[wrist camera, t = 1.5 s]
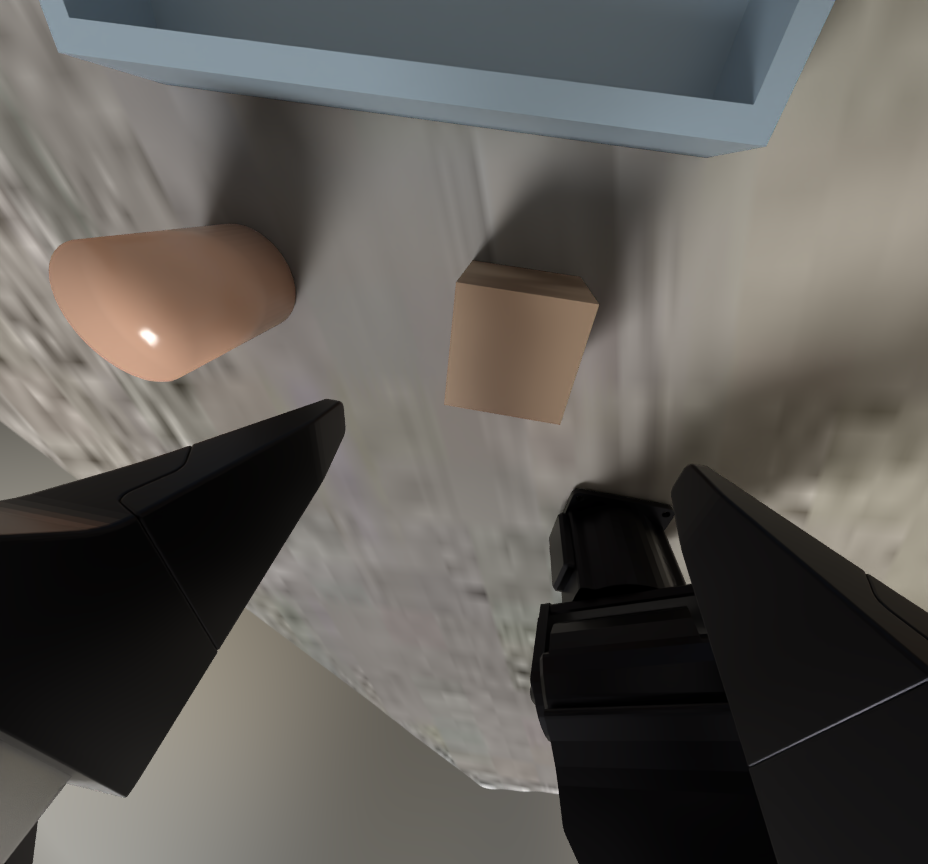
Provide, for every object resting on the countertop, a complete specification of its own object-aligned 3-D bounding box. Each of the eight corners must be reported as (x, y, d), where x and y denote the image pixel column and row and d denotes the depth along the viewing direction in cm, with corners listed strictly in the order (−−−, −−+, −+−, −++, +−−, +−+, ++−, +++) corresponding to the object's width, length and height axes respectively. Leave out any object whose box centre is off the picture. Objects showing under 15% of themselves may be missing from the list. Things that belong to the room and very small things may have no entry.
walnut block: (580, 276, 16) (599, 304, 12) (551, 374, 19) (560, 424, 15) (473, 260, 16) (456, 282, 12) (461, 359, 19) (444, 404, 15)
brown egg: (286, 231, 17) (164, 251, 11) (302, 333, 20) (210, 391, 14) (187, 216, 17) (17, 228, 11) (217, 319, 20) (92, 370, 14)
